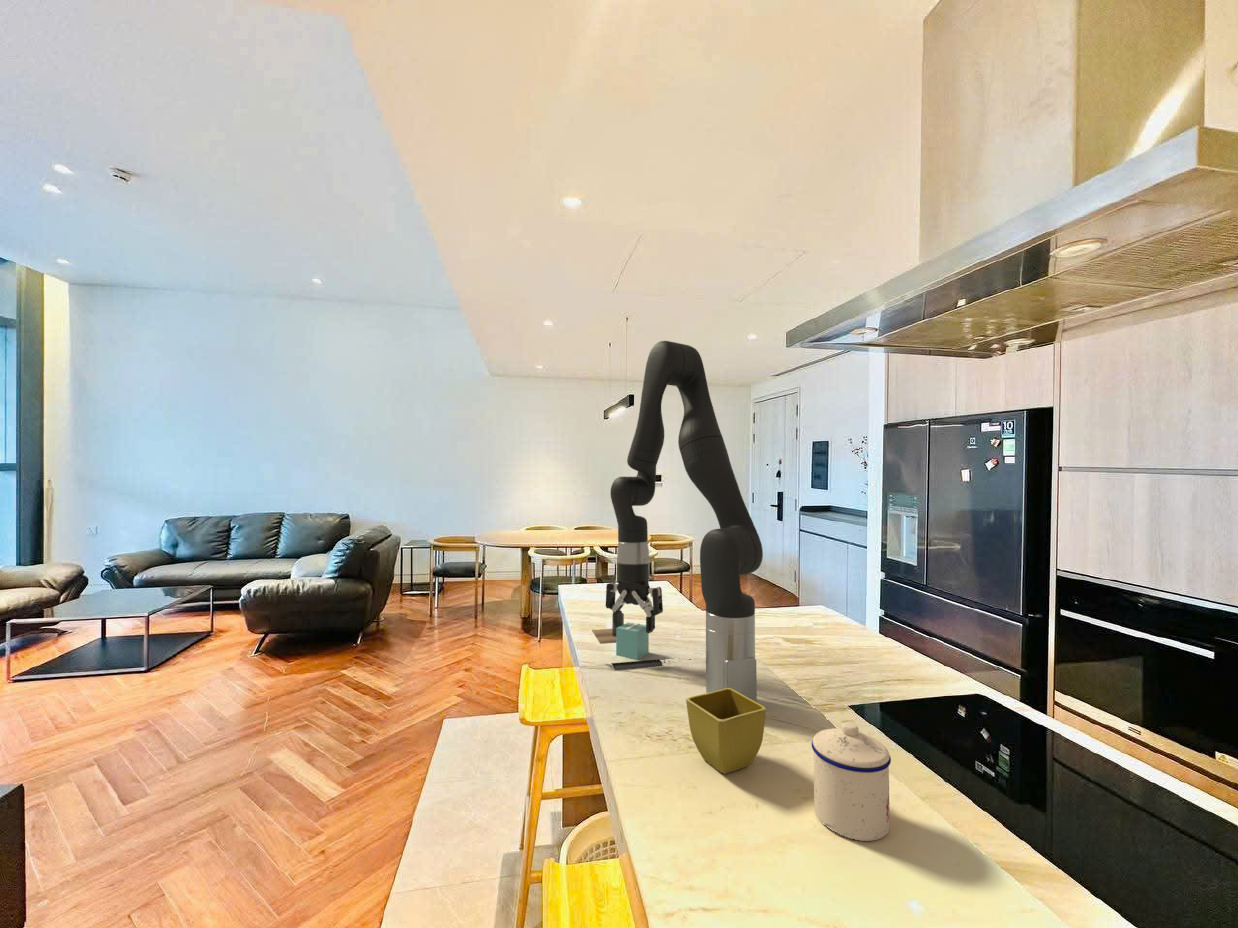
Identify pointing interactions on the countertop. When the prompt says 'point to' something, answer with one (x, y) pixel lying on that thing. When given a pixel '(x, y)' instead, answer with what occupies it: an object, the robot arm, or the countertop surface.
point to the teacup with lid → (851, 782)
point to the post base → (607, 633)
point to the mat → (637, 664)
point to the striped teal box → (632, 641)
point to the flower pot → (726, 728)
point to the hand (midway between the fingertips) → (633, 629)
